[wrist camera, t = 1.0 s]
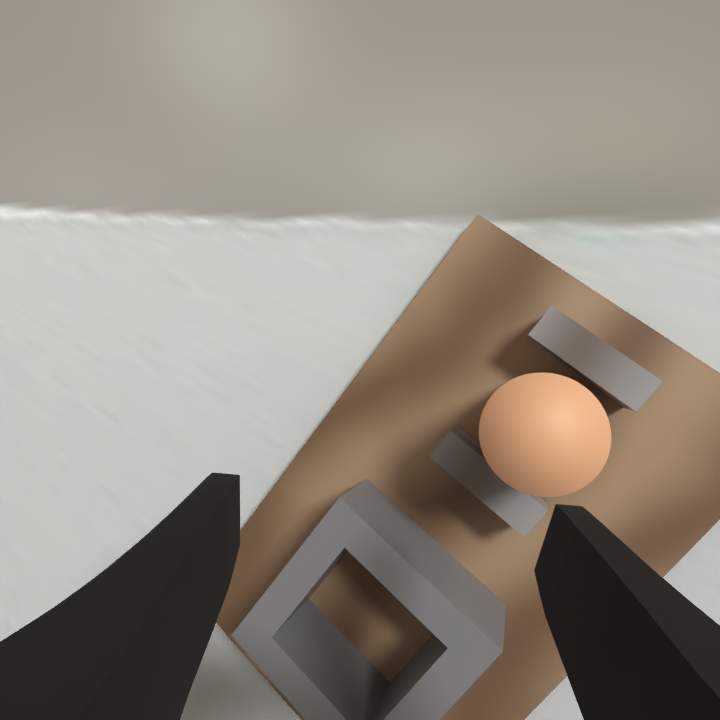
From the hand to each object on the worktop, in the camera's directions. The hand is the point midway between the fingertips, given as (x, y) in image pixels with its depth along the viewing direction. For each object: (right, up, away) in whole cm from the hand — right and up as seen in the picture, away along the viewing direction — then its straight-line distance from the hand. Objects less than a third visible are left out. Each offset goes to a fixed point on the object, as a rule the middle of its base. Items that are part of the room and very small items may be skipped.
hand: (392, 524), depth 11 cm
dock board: (+4, -4, +13) cm, 15 cm away
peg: (+7, +1, +11) cm, 13 cm away
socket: (0, -8, +13) cm, 16 cm away
